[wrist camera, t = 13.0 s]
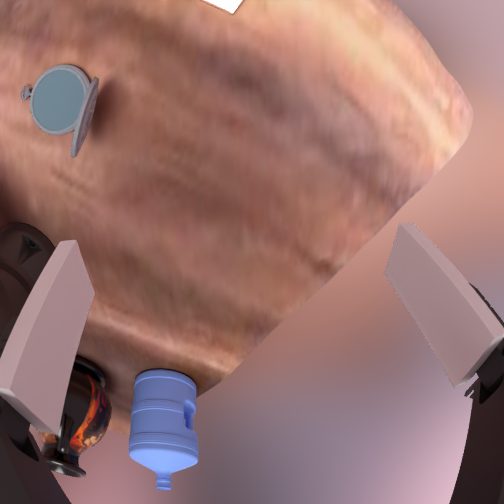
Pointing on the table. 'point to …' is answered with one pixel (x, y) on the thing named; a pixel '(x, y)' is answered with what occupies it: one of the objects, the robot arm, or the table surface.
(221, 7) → the base
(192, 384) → the water jug
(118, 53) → the table surface
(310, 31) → the table surface
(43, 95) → the pocket watch
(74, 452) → the amphora vase
